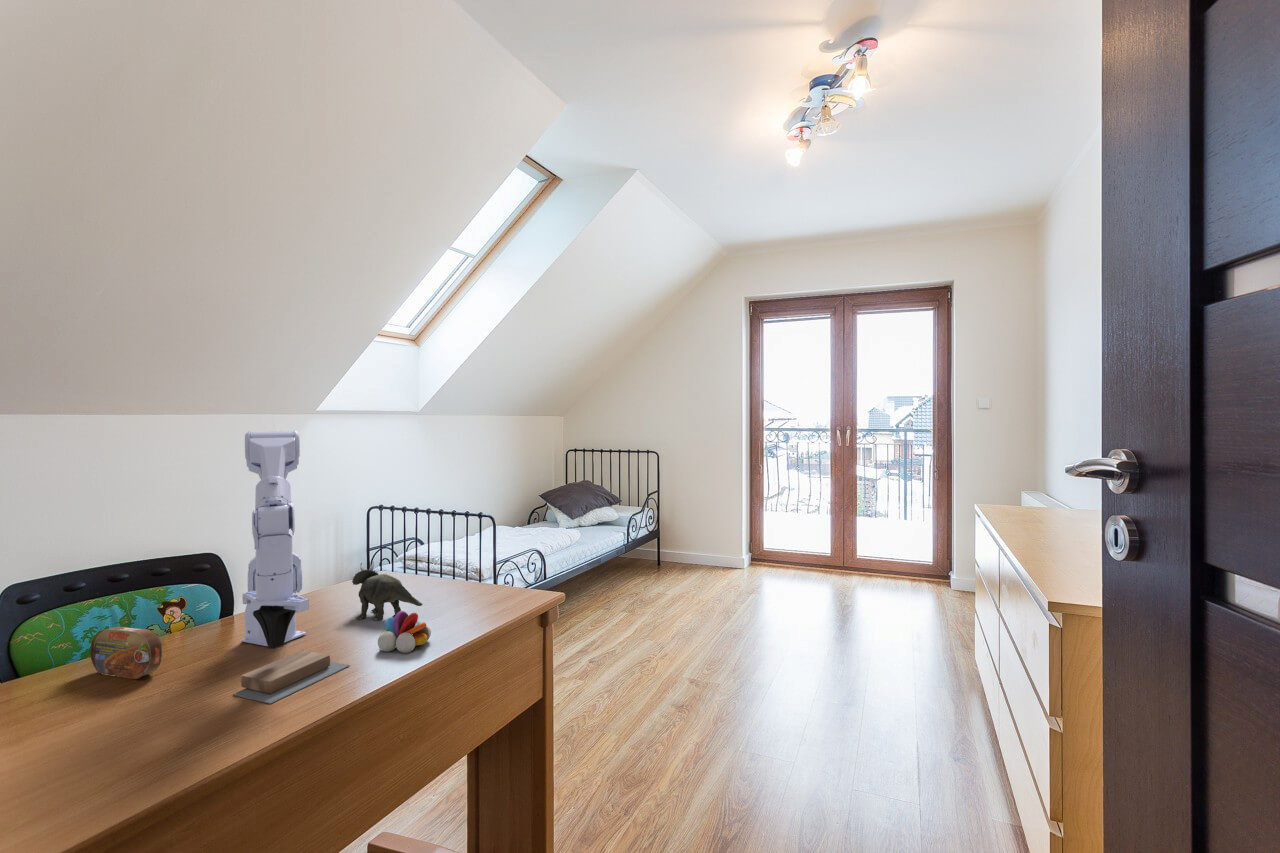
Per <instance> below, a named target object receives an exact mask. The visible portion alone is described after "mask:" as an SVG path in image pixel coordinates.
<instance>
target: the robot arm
mask: <svg viewBox="0 0 1280 853" xmlns="http://www.w3.org/2000/svg"><path fill="white" fill-rule="evenodd" d="M300 448H301V447H300V433H299V431H298V430H291V431H290V430H288V431H287V430H286V431H283V430H282V431H281V430H280V431H252V430H251V431H249V430H248V431H247V432H246V433H245V434H244V456H245V457H244V458H245V460H246V467H247V469H248V472H251V473H254V474H257V475H258V477H259V479H260V480H259V481H258V482H257V484H256V485H255V500H254V501H255V502H254V503H255V506H254V507H255V509H254V510H252V512H251V530H252V531H251V533H252V537H253V544H254V550H255V556H253V558H252V559H251V560H250V561H249V563H248V564H247V565H248V571H247V592H244V593H242V595H241V596H242V604H243V605H246V606H245V609H244V633H245V634H244V635H245V637H244V638H242V639H240V640H241V642H244V643H248V644H254V645H258V646H264V647H267V648H268V649H273V650H275V649H278V648H280V647H283V646H284V645H285V643H287V642H290V641H292V640H295V639H298V638H300V637H303V636H305V635H306V634H307V632H306V631H301V630H297V617H296V614H297V613H302V612H305V611H308V610H310V599H309V598H306V597H303V596H301V595H299V594H298V593H301V591H302V590H303V567H302V559H301V557H300V555H299V554H298V553H296V552H294V551H293V536H294V534H295V531H296V530H295V529H296V526H295V525H296V523H295V520H296V518H295V515H296V514H295V509H294V505H293V501H292V492H291V490H292V488H291V483H290V482H289V481H288V480H287V477H288V475H289V473H290V472H293V471H295V470H297V469H298V465H299V462H300V460H299V459H300V456H301V453H300V452H301V449H300ZM289 530H291V533H292V534H290V531H289Z"/></svg>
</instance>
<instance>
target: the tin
mask: <svg viewBox="0 0 1280 853" xmlns="http://www.w3.org/2000/svg"><path fill="white" fill-rule="evenodd" d="M162 644H163V643H162V641H161V639H160V637H159V636H158V634H157V633H156V632H154V631H153V630H150V629H145V628H136V627H135V628H134V627H126V626H114V627H110V628H106V629H105V628H104V629H101V630H99V631H97V633H96V634H95V635H94V636H93V639H92V641H91V644H90V650H89V652H90V655H89V656H90V659H91V662H92V665H93V667H94V669H95V670H96V671H97V672H98V674H100V673H103V674H108V675H115V676H119V677H118V678H121V677H124V678H123V679H129V680H138V679H141V678H142V677H145V676H149V675H151V674H153V673H154V672H155V671H157V670H158V668H160V665H161V664H162V656H163V655H162V654H163V651H162V650H163V648H162V647H163V646H162Z"/></svg>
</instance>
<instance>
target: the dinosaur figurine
mask: <svg viewBox="0 0 1280 853" xmlns="http://www.w3.org/2000/svg"><path fill="white" fill-rule="evenodd" d="M374 565H375V562H374V560H372V561H371V565H370V567H369V569H365V568H364V567H363V562H360V566H359V568H360V571H358V572H357V573H355V574H354V575H353V576H352V577H353V578H352V580H351V583H352V585H355V586H357V585H358V586H359V585H360V584H361V586H360V589H359V590H358V597H359V600H360V603H361V607H360V608H361V610H360V611H361V613H360V614H359V615H357V616H356V618H355V619H358V620H364V619H366V618H367V616H368V615H367V613H368V609H369V604H371V605H373V606H374V608H373V609H371V611H370V612H373V613H377V615H376V616H373V617H372V620H373V621H379V620H383V619H384V615H385V610H384V609H385V608H384V607H385V604H386V603H390V605H391V607H392V608H393V613H394V614H393V615H392V616H391V617H394V618H395V616H396V614H397V613H398V612H400V611H402V609H401V607H400V602H403V603H408V604H410V605H414V606H417V607H421V606H423V605H424V604H423V603H422V602H420V601H419V600H418V599H417V598H415V597H414V596H413V595H412V594H411V592H409V590H408V589H407V588H406V587H405V586H404V584H403V583H402V582H401V580H400V579H399V578H397V577H394V576H392V575H390V574H387V573H383V574H382V573H380V574H379V573H378V572H377V571H375V570H374V567H375V566H374Z"/></svg>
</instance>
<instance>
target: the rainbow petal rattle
mask: <svg viewBox="0 0 1280 853" xmlns="http://www.w3.org/2000/svg"><path fill="white" fill-rule="evenodd" d="M418 620H419V614H418V613H417V612H411V613H409V614H408V613H407V612H406V611H404V610H401V611H400V612H398V613H397V614H396V616H395V618H394V617H392V616H390V617H387V618H386V619H385V620H384V624H383V625H384V628H385V630H384V631H383V632H382V633H381V634H379V636H378V638H377V646H378V648H379V649H380V650H381V651H382V652H385V653H386V652H387V653H389V652H392V651H394V650H395V649H397V651H399V652H400V653H402V654H408V653H411V652H413V650H414V649H415V648H416V646H421V645H424V644H426V643H427V642H428V641H429V639H430V637H431V635H432V634H431V633H432V630H431V628H430V627H429V625H428V624H427V623H426V622H425V621H424V622H423V621H422V622H421V623H418ZM417 623H418V624H417Z"/></svg>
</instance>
